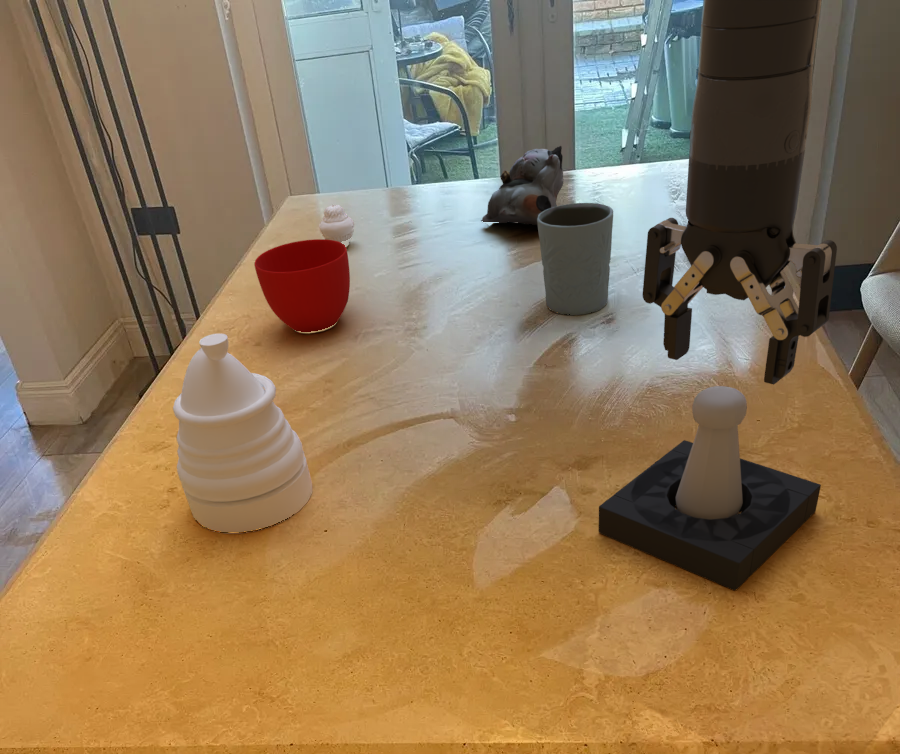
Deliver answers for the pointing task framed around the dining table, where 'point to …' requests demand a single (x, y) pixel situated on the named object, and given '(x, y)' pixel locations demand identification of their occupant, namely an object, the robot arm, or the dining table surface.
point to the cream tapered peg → (714, 456)
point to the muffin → (336, 224)
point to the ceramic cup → (306, 282)
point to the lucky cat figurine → (527, 188)
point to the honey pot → (236, 445)
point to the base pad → (703, 540)
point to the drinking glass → (576, 256)
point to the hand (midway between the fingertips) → (724, 367)
